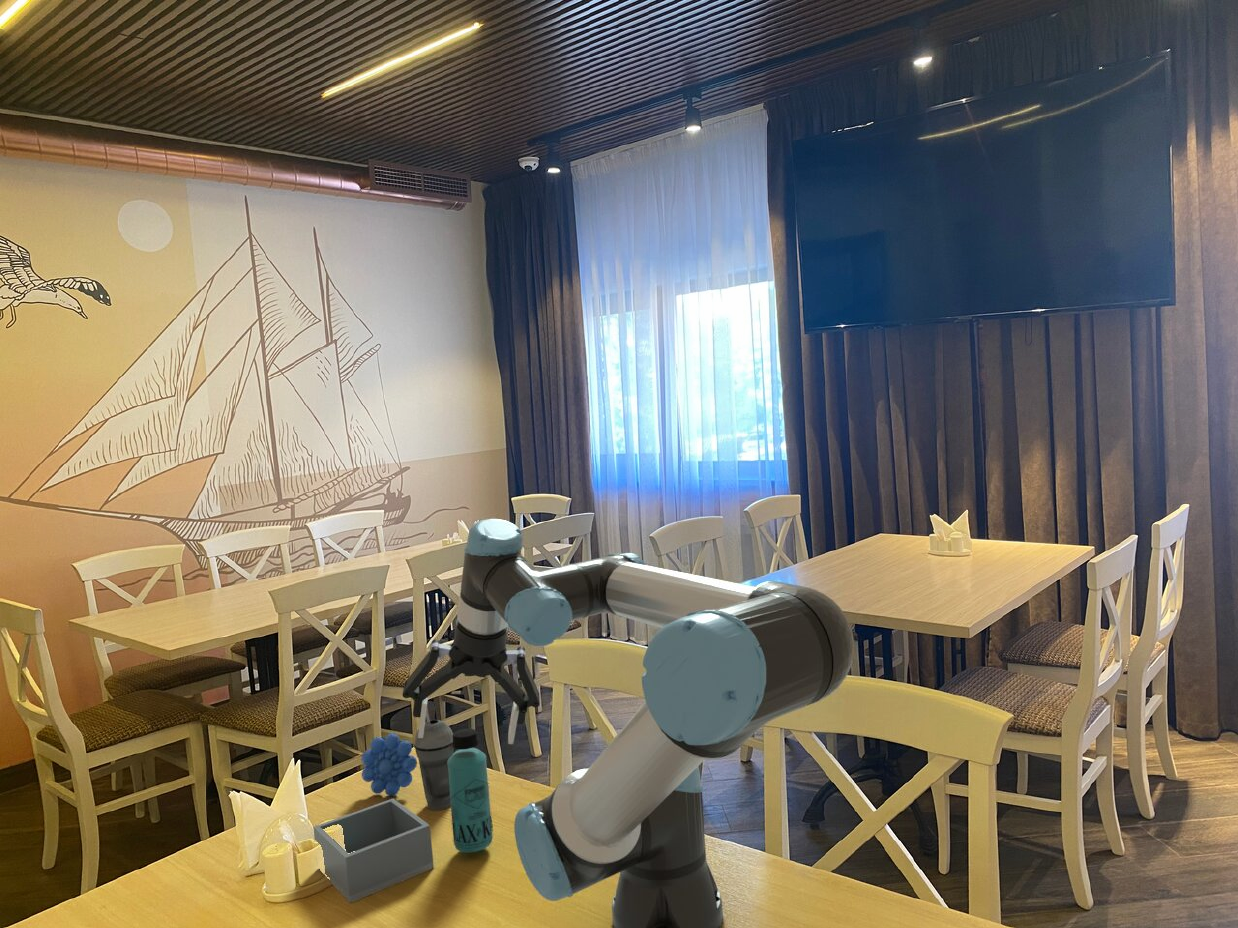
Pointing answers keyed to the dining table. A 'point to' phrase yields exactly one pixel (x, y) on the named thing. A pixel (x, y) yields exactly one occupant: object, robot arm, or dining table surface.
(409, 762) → the grapes
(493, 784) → the dining table surface
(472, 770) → the beverage bottle
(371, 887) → the crate
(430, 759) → the beverage cup
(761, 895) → the dining table surface
